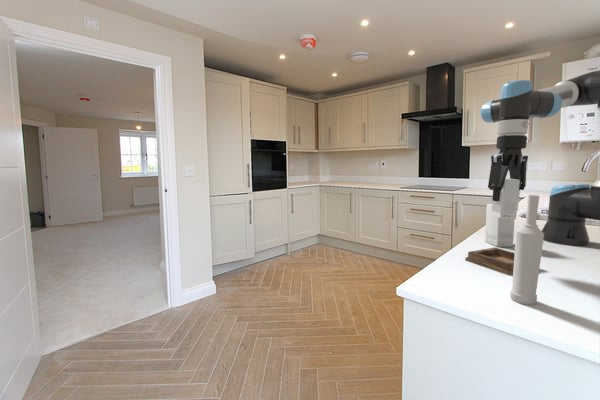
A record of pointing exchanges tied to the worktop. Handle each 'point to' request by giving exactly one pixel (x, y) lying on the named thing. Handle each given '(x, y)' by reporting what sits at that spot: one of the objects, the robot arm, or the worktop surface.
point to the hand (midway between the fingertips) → (504, 210)
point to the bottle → (527, 256)
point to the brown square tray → (493, 259)
